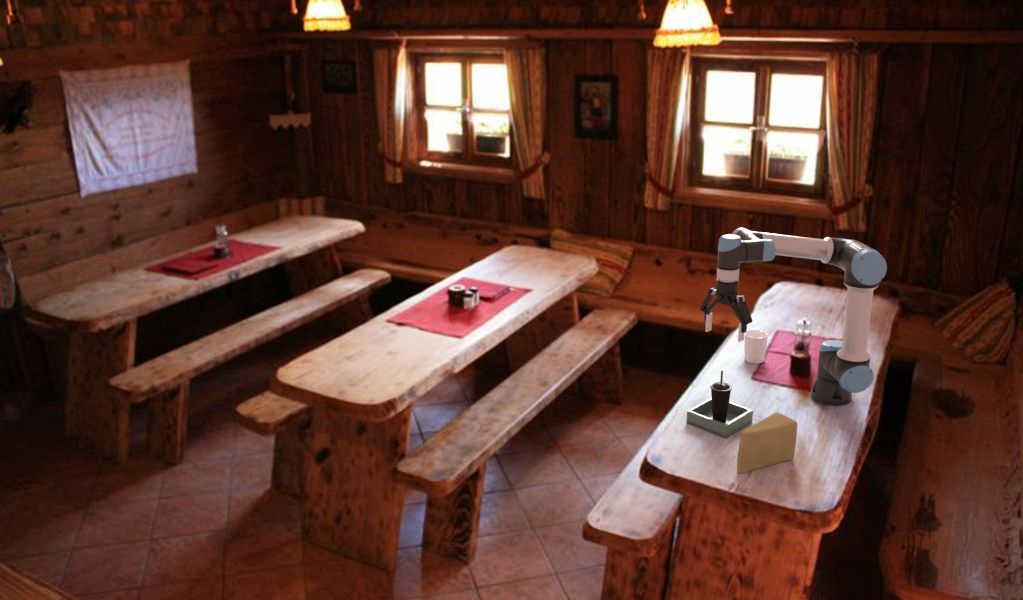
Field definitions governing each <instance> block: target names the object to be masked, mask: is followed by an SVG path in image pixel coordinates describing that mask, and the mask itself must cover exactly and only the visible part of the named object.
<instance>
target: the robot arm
mask: <svg viewBox="0 0 1023 600" xmlns="http://www.w3.org/2000/svg"><path fill="white" fill-rule="evenodd" d="M776 256H782V257H783V256H784V257H791V258H801V259H809V260H815V261H816V260H818V261H821V263H823V264H828V265H831V266H832V265H833V266H835V267H837V268H839V269H841V270H842V271H843V272H844V277H843V285H844V286H845V287H846V289H847V291H846V300H845V312H844V320H843V321H844V323H843V329H842V340H841V339H830V340H825V341H822V342H821V343H820V345H819V349H818V361H817V371H816V372H817V373H816V374H817V375H816V378H815V380H814V382H813V384H812V386H811V389H810V394H809V395H810V398H811V399H812V400H813V401H815V402H817V403H819V404H822V405H826V406H832V407H834V406H835V407H838V406H846V405H848V404H850V403H851V402H852V399H853V398H852V397H853V394H858V393H861V392H864V391H866V390H867V388H869V387H870V386H872V384H873V382H874V378H875V374H874V371H873V369H872V368H871V367H870V364H871V354H870V353H869V352H868V351H867V350H868V340H869V331H870V323H871V316H872V315H871V314H872V304H873V296H874V290H876V289H877V288H878V287H879V285H880V282H881V281H882V280H883V279H884V278H885V276H886V274H887V271H888V270H887V269H888V265H887V262H886V259H885V258H884V256H883V255H882V254H880V252H879V251H878V250H876V249H874V248H872V247H869V246H868V245H867V244H864V242H862V241H859V240H856V239H849V238H842V237H841V238H840V237H831V236H830V237H829V236H827V237H825V238H813V237H804V236H797V235H788V234H780V233H770V232H762V231H754V230H749V228H745V227H737V228H736V229H735V230H733V231H732V233H728V234H723V235H721V236H720V237H719V240H718V246H717V266H716V282H715V283H716V284H715V285H716V287H715V286H713V287H711V288H709V289H708V292H707V295H706V297H705V298H704V301H703V302H702V304H701V306H700V308H699V311H700V312H703V315H704V318H703V319H704V320H703V321H704V322H705V333H706V332H707V333H708V332H710V331H712V329H713V325H712V324H713V312H712V311H713V310H714V309H715V308H716V307H717V306H718V305H719V304H720V305H725V306H726V307H728V306H729V307H730V309H732V310H733V312H734V314H735V315H736V317H737V319H738V321H739V322H740V323H738V331H737V332H738V334H737V342H740V343H741V342H742V341H745V332H746V331H748V330H747V329H748V325H749V324H751V323H753V318H752V316H751V312H750V309H749V306H748V304H747V299H746V298H747V297H746V295H739V294H738V290H739V283H740V282H739V276H740V266H741V263H757V262H758V263H759V262H763V263H764V262H770V261H773V260H775V257H776ZM715 295H716V299H714V301H713V302H712V300H713V298H714V296H715ZM711 302H712V303H711ZM710 303H711V304H710Z"/></svg>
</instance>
